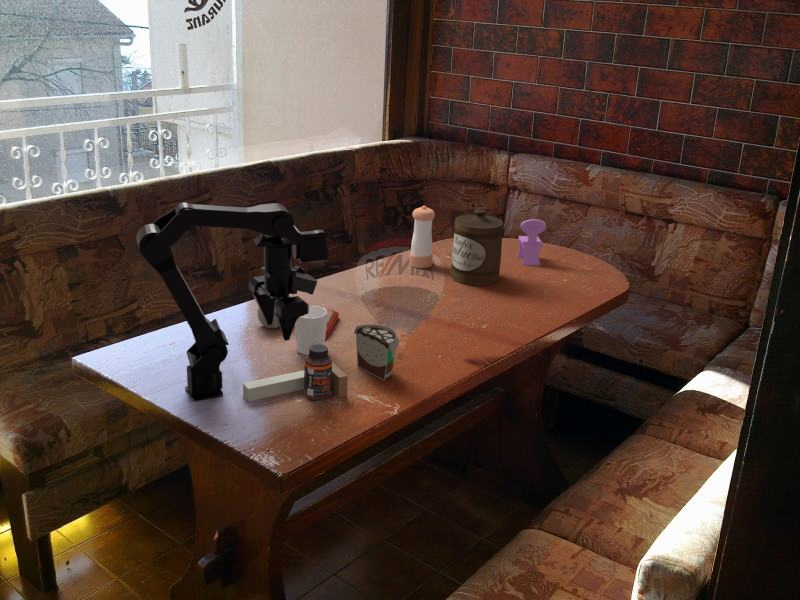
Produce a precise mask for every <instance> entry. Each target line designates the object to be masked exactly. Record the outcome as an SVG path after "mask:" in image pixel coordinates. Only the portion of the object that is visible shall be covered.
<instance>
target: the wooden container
mask: <svg viewBox="0 0 800 600" xmlns="http://www.w3.org/2000/svg"><path fill="white" fill-rule="evenodd" d="M454 219H455V220H454V233H453V242H452V243H453V245H452V256H451V269H450V270H451V271H450V277H451V278H452V279H453V280H454V281H456V282H458V283H461V284H464V285H469V286H490V285H493V284H495V283H497V282H498V281H499V279H500V270H501V260H502V245H503V244H502V243H503V233H504V232H503V231H504V221H503V220H502V219H500V218H498V217H496V216H493V215H486V210H485V209H484V208H483V207H477V208H476V209H474V211H473V214H465V215H464V214H463V215H459V216H457V217H456V218H454Z"/></svg>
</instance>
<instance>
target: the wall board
mask: <svg viewBox="0 0 800 600" xmlns="http://www.w3.org/2000/svg"><path fill="white" fill-rule="evenodd" d="M302 390H303V391H304V370H300V371H299V370H298V371H294V372H290V373H284V374H280V375H276V376H270V377H266V378H261V379H256V380H251V381H248V382H243V383H242V393H243V394H242V396H243V397H244V398H245V399H246V400H247V402H252V401H256V400H262V399H266V398H272V397H276V396H279V395H285V394H289V393H293V392H294V393H295V392H297V391H302ZM331 393H332V394H334V395H335V396H336V397H337V398H338V399H342V398H346V397H348V375H347V374H346V373H345V372H344V371H343V370H342V369H341V368H339V367H338V366H337V365H336V364H335V363H334V362H333V361H332V382H331Z"/></svg>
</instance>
